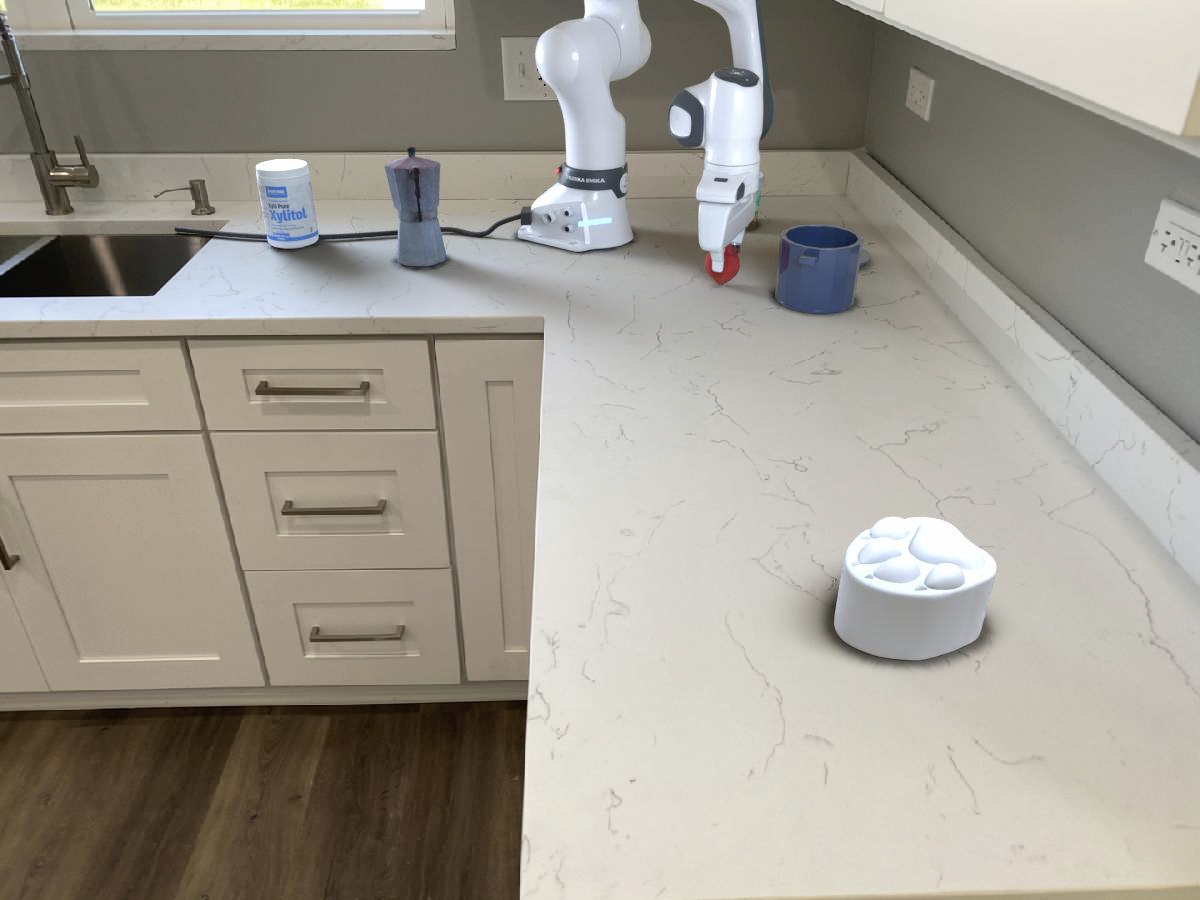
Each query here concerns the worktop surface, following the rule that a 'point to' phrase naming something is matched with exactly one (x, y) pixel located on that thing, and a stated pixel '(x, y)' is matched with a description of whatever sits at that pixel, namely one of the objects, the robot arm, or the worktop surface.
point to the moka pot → (416, 209)
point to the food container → (757, 201)
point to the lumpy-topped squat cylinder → (913, 589)
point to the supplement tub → (287, 203)
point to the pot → (818, 268)
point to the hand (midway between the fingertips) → (727, 261)
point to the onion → (730, 266)
